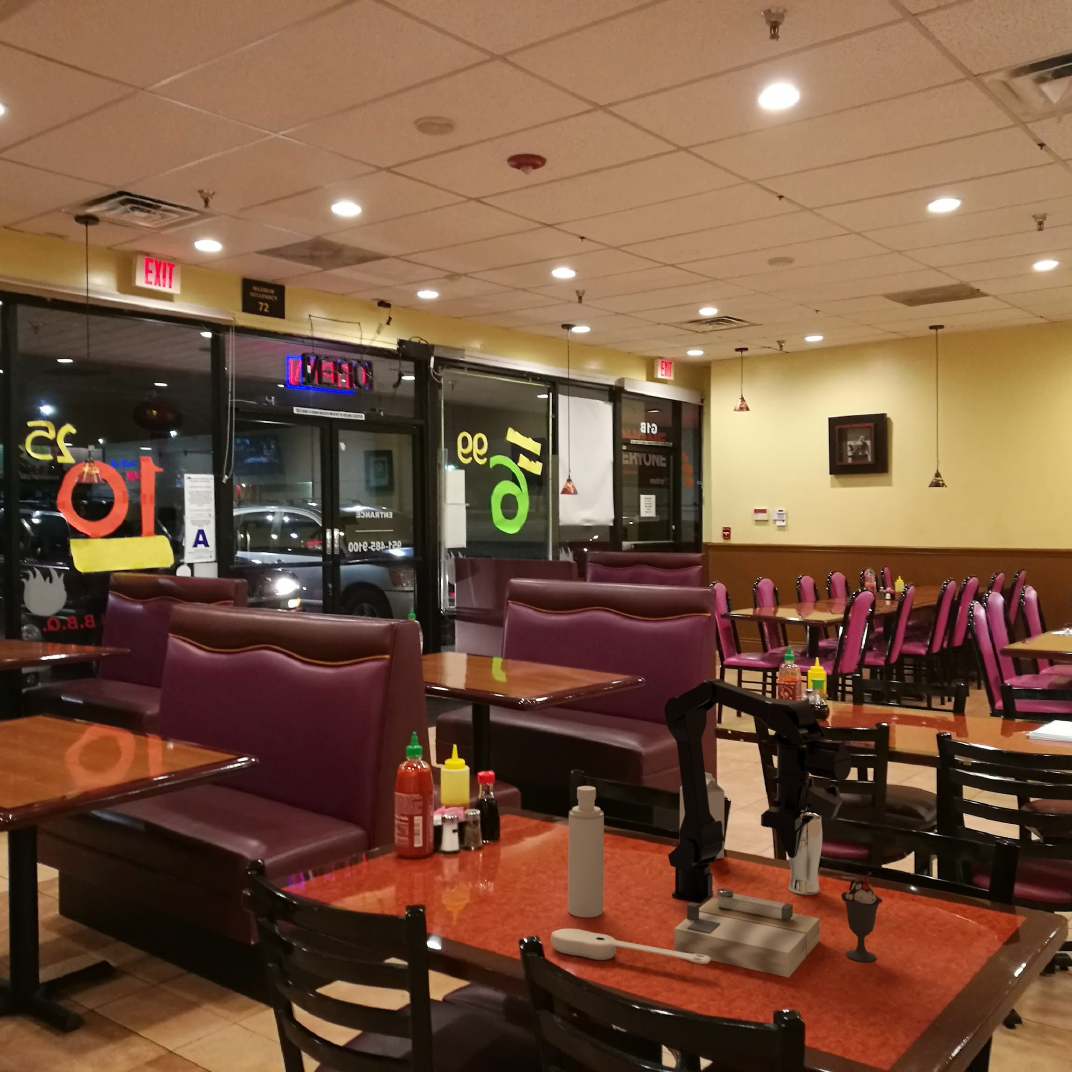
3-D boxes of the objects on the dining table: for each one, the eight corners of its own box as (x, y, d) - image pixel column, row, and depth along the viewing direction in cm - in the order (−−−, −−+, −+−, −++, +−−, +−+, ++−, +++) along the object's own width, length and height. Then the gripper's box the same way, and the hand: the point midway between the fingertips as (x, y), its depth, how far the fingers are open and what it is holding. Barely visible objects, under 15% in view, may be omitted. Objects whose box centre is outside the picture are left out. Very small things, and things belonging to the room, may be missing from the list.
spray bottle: (610, 911, 198) (611, 779, 198) (587, 920, 194) (588, 785, 194) (583, 902, 203) (584, 774, 203) (560, 911, 198) (561, 779, 198)
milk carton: (698, 863, 228) (698, 776, 228) (679, 854, 235) (679, 769, 235) (724, 858, 232) (724, 773, 232) (704, 849, 238) (705, 766, 238)
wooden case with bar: (674, 951, 179) (674, 913, 179) (712, 919, 195) (712, 884, 195) (788, 977, 169) (788, 937, 169) (819, 941, 185) (819, 904, 185)
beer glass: (818, 885, 214) (819, 812, 214) (824, 896, 207) (825, 821, 207) (784, 883, 215) (784, 811, 215) (788, 895, 208) (789, 820, 208)
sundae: (876, 967, 173) (877, 877, 173) (836, 958, 177) (836, 870, 177) (886, 954, 179) (886, 866, 179) (846, 945, 182) (847, 860, 182)
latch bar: (715, 906, 189) (715, 891, 189) (720, 901, 191) (720, 887, 191) (788, 920, 182) (788, 905, 182) (792, 915, 184) (792, 901, 184)
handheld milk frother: (714, 970, 172) (715, 953, 172) (705, 983, 166) (705, 965, 166) (559, 940, 184) (559, 924, 184) (545, 952, 178) (545, 935, 178)
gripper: (823, 787, 178) (822, 878, 178) (850, 767, 195) (850, 850, 195) (760, 779, 184) (759, 867, 184) (791, 760, 200) (791, 841, 200)
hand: (792, 856), depth 191 cm, fingers closed
